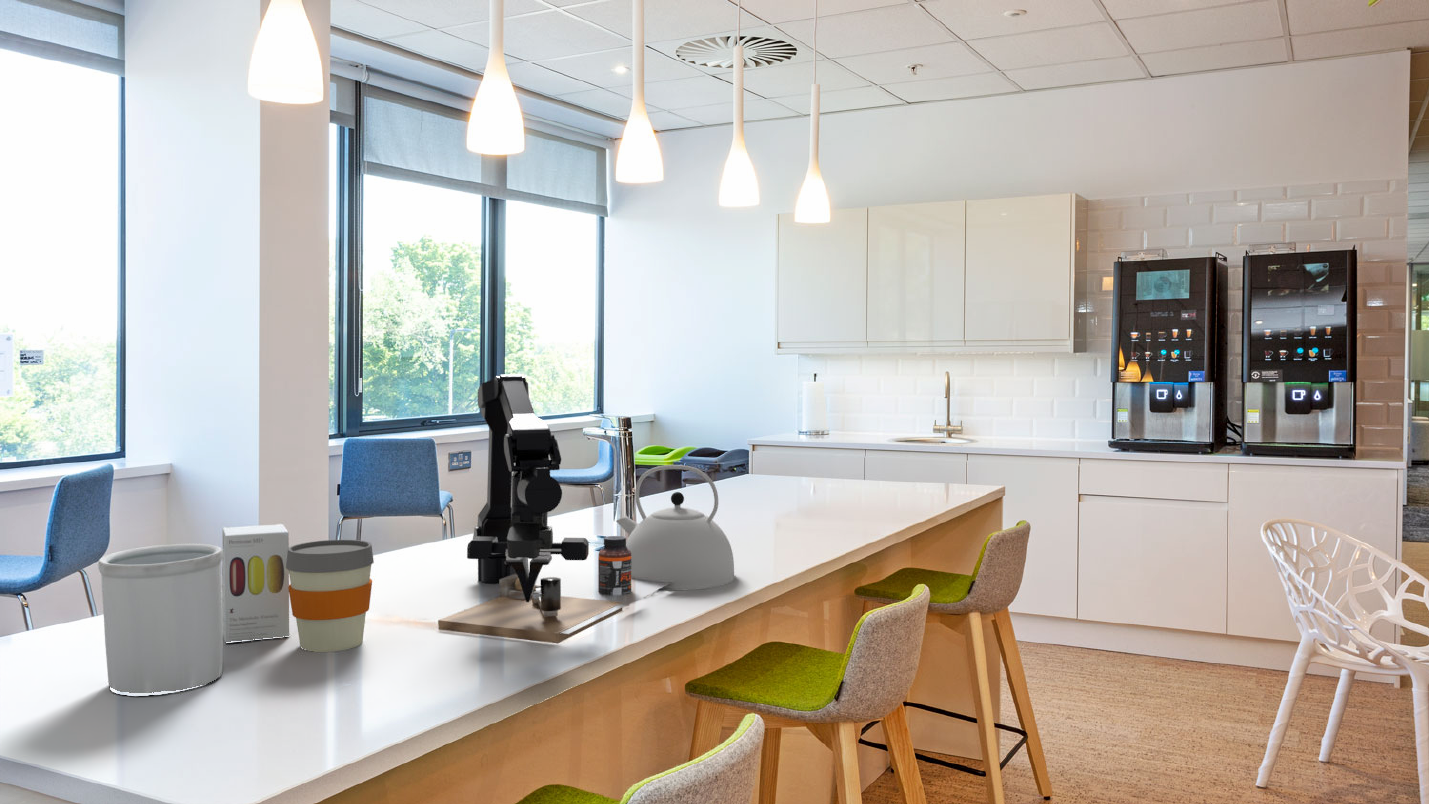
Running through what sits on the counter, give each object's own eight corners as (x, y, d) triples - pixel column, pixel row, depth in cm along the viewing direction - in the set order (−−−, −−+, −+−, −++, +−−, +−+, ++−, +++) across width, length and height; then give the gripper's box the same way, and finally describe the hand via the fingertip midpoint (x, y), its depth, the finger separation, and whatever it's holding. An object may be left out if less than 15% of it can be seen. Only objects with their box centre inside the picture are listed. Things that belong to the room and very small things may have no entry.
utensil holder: (94, 705, 132) (90, 567, 131) (109, 672, 146) (106, 547, 145) (223, 690, 138) (220, 558, 137) (226, 660, 152) (223, 540, 151)
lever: (529, 596, 184) (529, 561, 184) (552, 594, 185) (552, 560, 185) (539, 620, 167) (539, 582, 167) (564, 619, 168) (564, 580, 168)
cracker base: (437, 629, 169) (437, 601, 169) (516, 598, 191) (516, 573, 191) (558, 643, 161) (558, 614, 161) (626, 608, 183) (626, 583, 182)
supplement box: (224, 645, 160) (221, 535, 159) (221, 631, 168) (219, 526, 167) (291, 637, 164) (289, 530, 163) (285, 624, 172) (284, 522, 171)
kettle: (589, 583, 203) (588, 467, 202) (641, 562, 224) (641, 457, 223) (707, 594, 194) (707, 473, 193) (751, 571, 215) (751, 461, 214)
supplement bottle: (626, 604, 186) (625, 540, 186) (594, 602, 187) (593, 539, 187) (635, 596, 192) (635, 535, 191) (604, 595, 193) (603, 534, 193)
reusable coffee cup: (286, 638, 164) (284, 542, 163) (371, 629, 169) (369, 537, 168) (288, 659, 152) (286, 556, 151) (378, 650, 157) (377, 550, 156)
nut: (510, 596, 185) (510, 576, 185) (521, 592, 189) (521, 572, 189) (528, 598, 184) (528, 577, 184) (539, 593, 188) (539, 573, 187)
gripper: (460, 510, 160) (459, 612, 160) (584, 512, 160) (582, 614, 161) (474, 501, 171) (473, 597, 171) (589, 503, 171) (588, 598, 172)
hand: (528, 601), depth 168 cm, fingers closed
